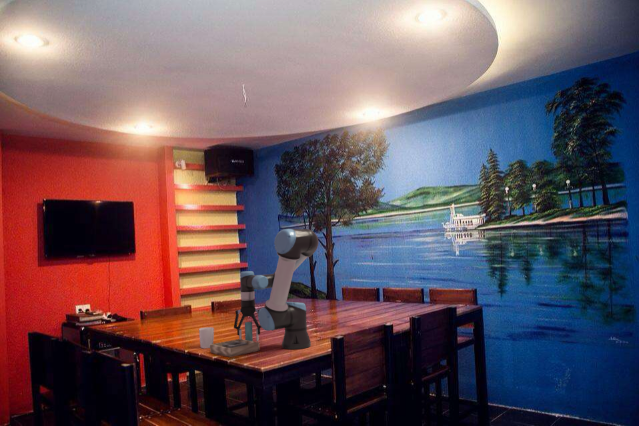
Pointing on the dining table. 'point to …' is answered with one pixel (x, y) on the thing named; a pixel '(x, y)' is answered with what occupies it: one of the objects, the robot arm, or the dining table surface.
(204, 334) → the white cup
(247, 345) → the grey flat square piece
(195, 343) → the dining table surface
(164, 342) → the dining table surface
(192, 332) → the dining table surface
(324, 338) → the dining table surface
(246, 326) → the peg
